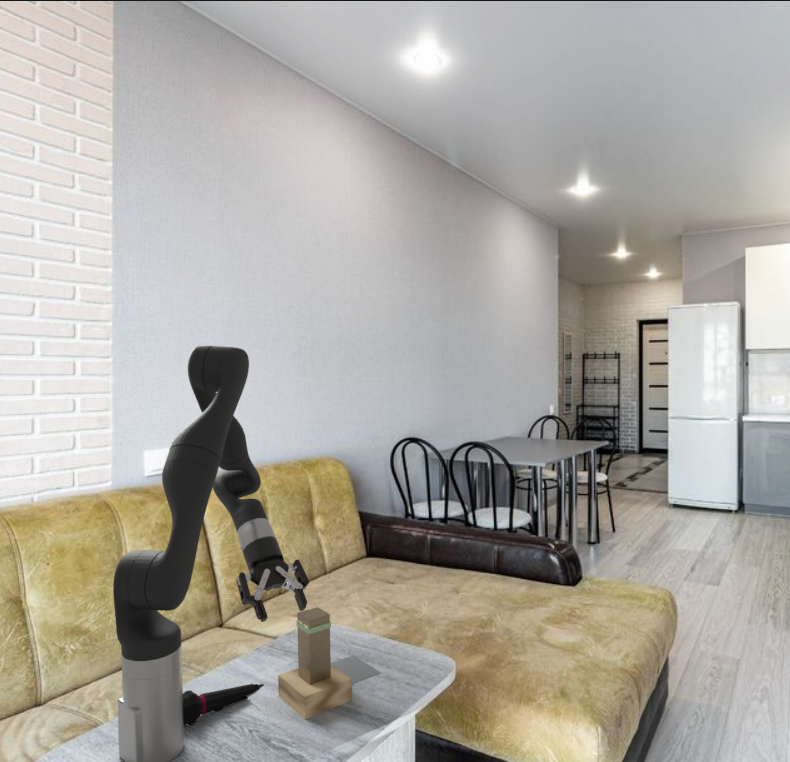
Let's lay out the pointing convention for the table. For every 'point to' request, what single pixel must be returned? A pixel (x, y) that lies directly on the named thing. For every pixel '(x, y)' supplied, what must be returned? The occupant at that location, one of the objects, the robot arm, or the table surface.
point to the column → (314, 645)
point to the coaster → (355, 668)
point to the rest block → (314, 692)
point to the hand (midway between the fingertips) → (284, 614)
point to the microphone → (213, 701)
